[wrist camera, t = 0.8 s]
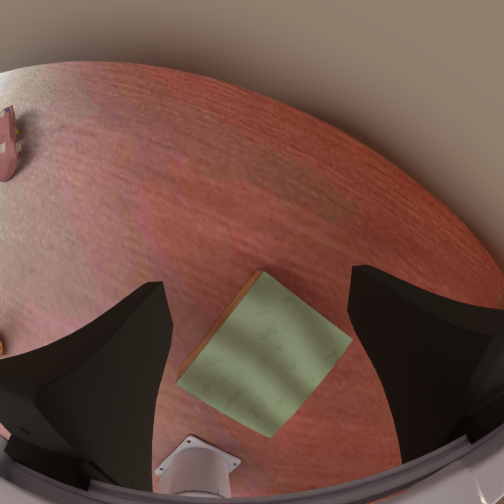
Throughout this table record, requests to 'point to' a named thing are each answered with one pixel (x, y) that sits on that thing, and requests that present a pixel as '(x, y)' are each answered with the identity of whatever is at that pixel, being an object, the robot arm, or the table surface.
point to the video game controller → (8, 144)
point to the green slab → (263, 356)
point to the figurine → (1, 348)
